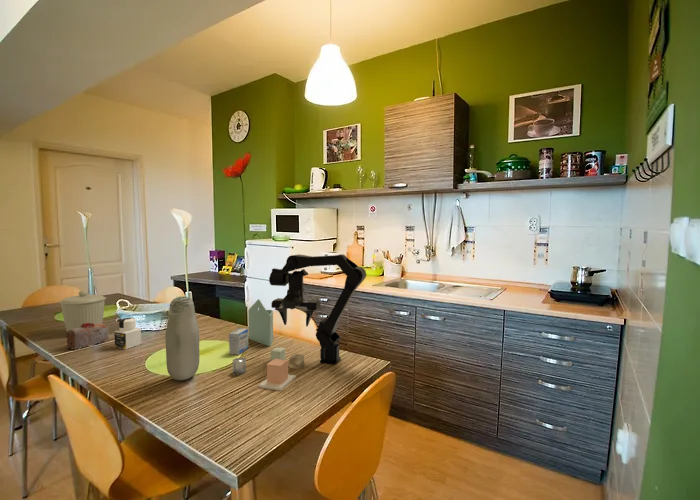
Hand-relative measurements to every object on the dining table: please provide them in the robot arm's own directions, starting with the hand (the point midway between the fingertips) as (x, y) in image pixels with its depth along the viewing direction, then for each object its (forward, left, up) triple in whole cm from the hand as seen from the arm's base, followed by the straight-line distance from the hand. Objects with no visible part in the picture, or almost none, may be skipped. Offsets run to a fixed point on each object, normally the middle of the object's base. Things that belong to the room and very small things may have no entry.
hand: (296, 325), depth 134 cm
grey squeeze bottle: (+28, +29, -13) cm, 42 cm away
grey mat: (-4, +22, -13) cm, 26 cm away
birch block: (-4, +8, -13) cm, 16 cm away
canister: (+114, +2, -13) cm, 114 cm away
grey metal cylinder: (+13, +19, -13) cm, 26 cm away
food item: (+93, +15, -13) cm, 95 cm away
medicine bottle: (+76, +10, -13) cm, 77 cm away
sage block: (+6, +4, -13) cm, 15 cm away
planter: (+23, -15, -13) cm, 30 cm away
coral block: (-4, +22, -12) cm, 26 cm away
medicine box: (+26, +1, -13) cm, 29 cm away
